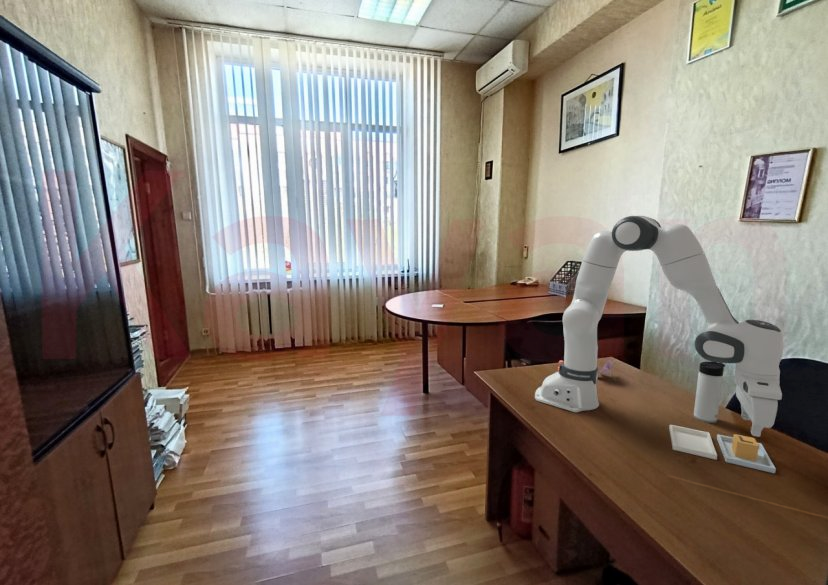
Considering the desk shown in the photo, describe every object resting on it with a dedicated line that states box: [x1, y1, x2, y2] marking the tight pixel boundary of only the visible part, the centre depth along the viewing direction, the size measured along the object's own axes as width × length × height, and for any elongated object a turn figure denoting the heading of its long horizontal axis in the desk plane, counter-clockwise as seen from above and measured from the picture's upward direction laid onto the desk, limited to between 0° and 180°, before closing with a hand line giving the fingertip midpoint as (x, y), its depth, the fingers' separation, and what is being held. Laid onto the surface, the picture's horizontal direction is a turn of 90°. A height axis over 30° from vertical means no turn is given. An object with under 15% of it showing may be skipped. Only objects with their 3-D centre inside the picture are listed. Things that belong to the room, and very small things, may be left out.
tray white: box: [668, 424, 718, 461], centre depth 110 cm, size 10×13×2 cm
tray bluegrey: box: [716, 433, 777, 474], centre depth 104 cm, size 10×13×2 cm
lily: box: [598, 358, 618, 382], centre depth 157 cm, size 12×12×10 cm
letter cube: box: [732, 433, 759, 461], centre depth 104 cm, size 4×4×5 cm
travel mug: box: [693, 361, 726, 424], centre depth 122 cm, size 6×7×20 cm
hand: (750, 426), depth 102 cm, fingers open, 8 cm apart
